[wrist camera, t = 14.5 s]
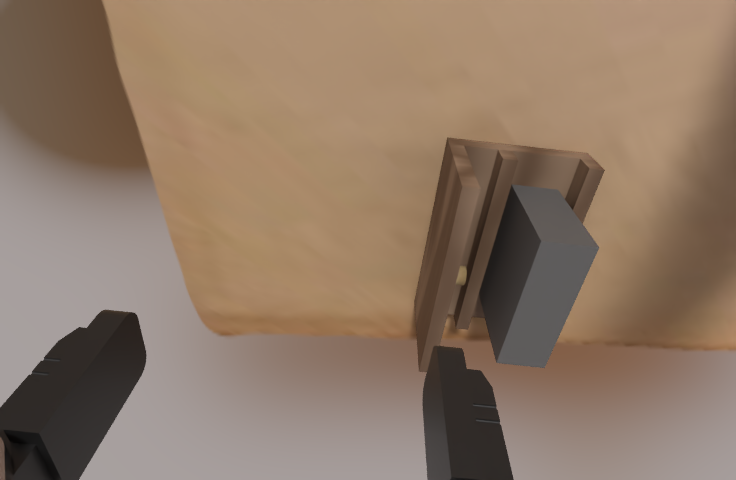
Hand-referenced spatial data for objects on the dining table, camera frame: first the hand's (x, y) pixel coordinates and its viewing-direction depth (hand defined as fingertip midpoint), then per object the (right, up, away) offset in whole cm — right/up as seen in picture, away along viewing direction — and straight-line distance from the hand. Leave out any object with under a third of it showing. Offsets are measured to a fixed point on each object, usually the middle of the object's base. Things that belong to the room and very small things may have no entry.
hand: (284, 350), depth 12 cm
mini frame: (+16, +2, +29) cm, 33 cm away
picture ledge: (+14, +3, +30) cm, 34 cm away
